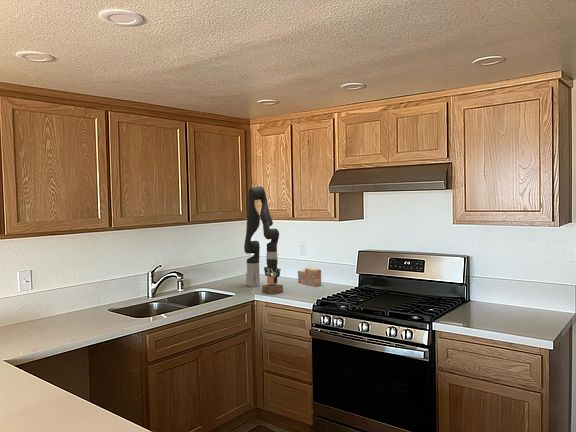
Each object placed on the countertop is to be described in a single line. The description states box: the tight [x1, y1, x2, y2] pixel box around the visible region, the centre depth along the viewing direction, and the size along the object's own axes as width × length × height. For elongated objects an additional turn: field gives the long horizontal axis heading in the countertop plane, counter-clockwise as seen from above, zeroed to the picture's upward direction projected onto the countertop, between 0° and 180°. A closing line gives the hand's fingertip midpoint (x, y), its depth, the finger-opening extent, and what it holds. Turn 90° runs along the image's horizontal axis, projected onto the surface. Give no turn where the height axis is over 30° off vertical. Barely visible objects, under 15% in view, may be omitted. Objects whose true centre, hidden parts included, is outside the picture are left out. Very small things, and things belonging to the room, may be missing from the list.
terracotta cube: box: [266, 274, 278, 285], centre depth 332 cm, size 5×5×5 cm
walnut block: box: [261, 283, 284, 296], centre depth 332 cm, size 10×10×5 cm
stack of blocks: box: [297, 267, 322, 288], centre depth 360 cm, size 21×6×12 cm, turn 33°
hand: (272, 282), depth 332 cm, fingers closed on terracotta cube, 5 cm apart
